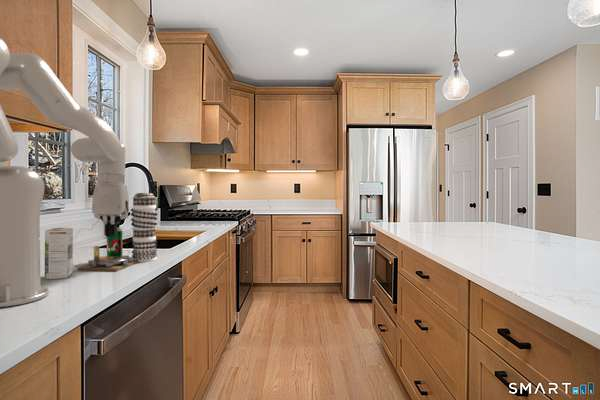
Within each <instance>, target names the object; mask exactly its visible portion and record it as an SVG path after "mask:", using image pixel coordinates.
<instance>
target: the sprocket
mask: <svg viewBox="0 0 600 400" xmlns="http://www.w3.org/2000/svg"><path fill="white" fill-rule="evenodd" d="M132 261H133V257H132V256H130V255H126V254H125V255H122V256H115V255H114V256H107V255H106V256H105V255H103V256H100V245H95V246H94V245H93V259H89V260H88V262H87V265H92V267H97V266H106V267H111V266H114V265H121V264H122V265H125V264H128V262H132Z"/></svg>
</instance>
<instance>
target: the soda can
mask: <svg viewBox="0 0 600 400" xmlns="http://www.w3.org/2000/svg"><path fill="white" fill-rule="evenodd" d="M114 255H115V256H123V230H122V227H120V226H119V227H118V226H117V233H116V236H112V237H106V256H114Z"/></svg>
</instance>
